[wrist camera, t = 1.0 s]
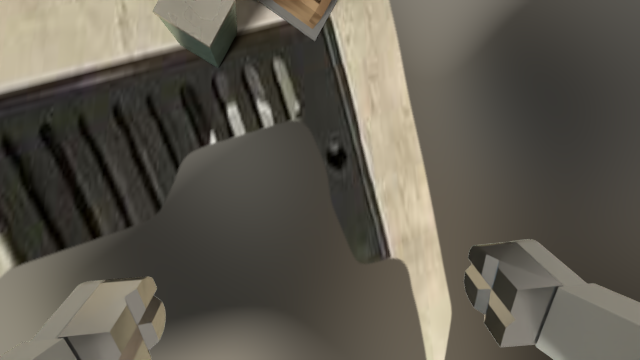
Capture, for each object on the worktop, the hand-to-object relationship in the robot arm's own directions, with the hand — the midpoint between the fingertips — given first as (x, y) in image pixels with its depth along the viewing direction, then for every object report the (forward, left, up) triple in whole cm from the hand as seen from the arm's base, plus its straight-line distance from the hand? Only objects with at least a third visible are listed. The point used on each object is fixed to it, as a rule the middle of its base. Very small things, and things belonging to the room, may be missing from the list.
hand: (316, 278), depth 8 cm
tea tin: (-12, +10, -36) cm, 39 cm away
